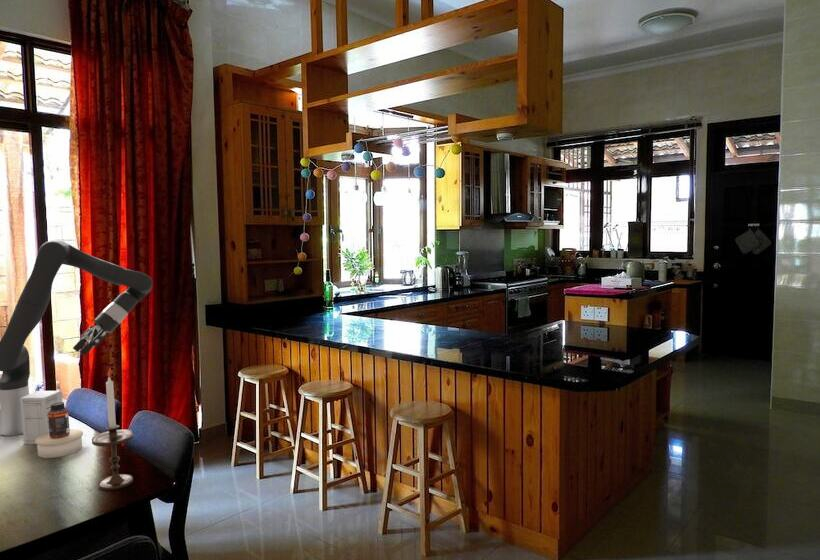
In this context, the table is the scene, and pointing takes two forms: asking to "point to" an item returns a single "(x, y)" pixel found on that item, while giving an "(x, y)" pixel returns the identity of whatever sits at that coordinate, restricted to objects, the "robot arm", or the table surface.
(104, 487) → the candlestick
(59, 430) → the supplement bottle
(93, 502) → the table surface
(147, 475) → the table surface
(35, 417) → the supplement box
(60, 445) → the podium
